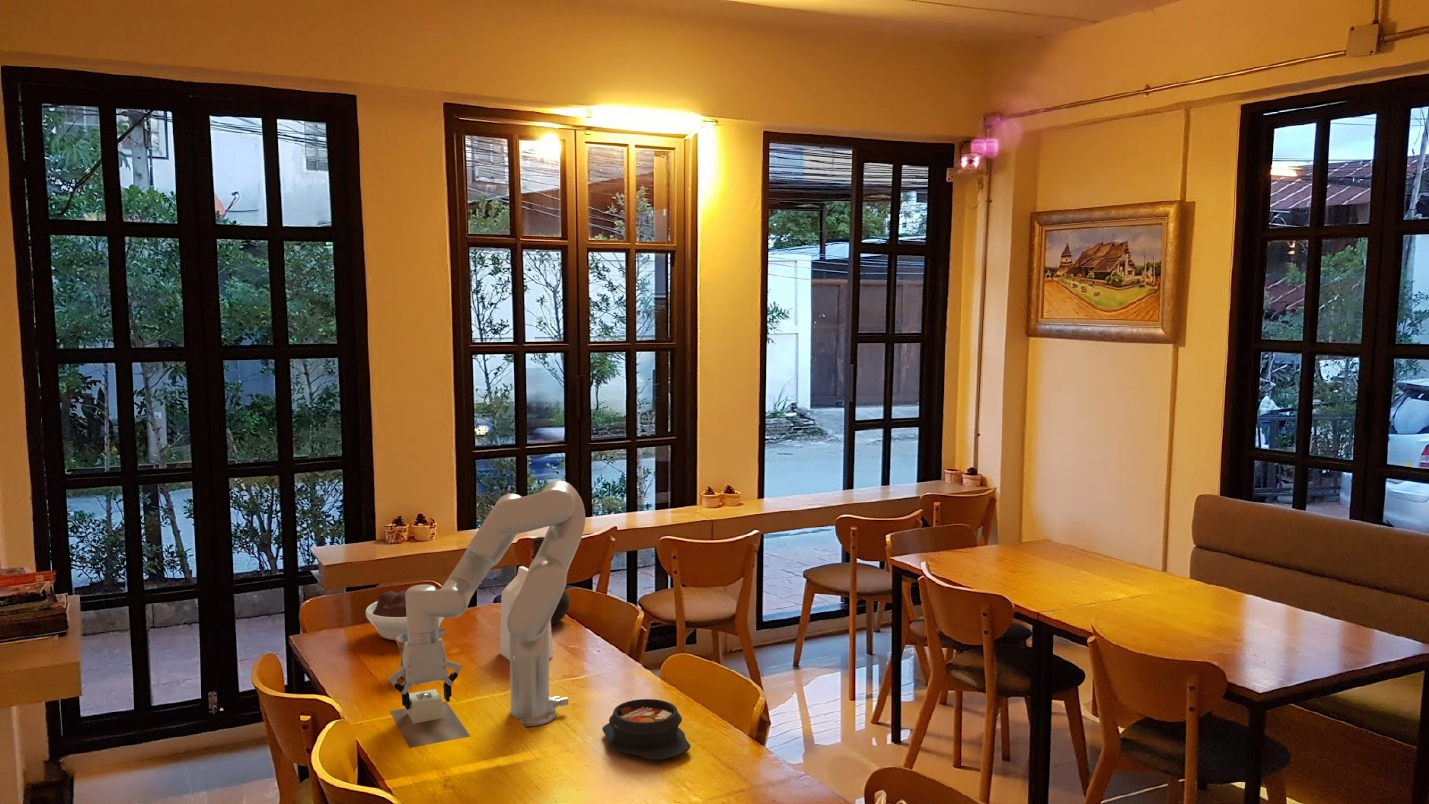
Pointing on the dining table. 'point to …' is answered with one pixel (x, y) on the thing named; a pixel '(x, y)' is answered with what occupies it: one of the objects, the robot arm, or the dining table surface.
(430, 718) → the white rectangular block
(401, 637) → the mug
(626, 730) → the casserole
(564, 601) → the glass bottle
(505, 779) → the dining table surface
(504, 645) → the milk
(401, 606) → the bowl of chocolate mousse
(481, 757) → the dining table surface
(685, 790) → the dining table surface
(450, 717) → the board
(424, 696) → the post
